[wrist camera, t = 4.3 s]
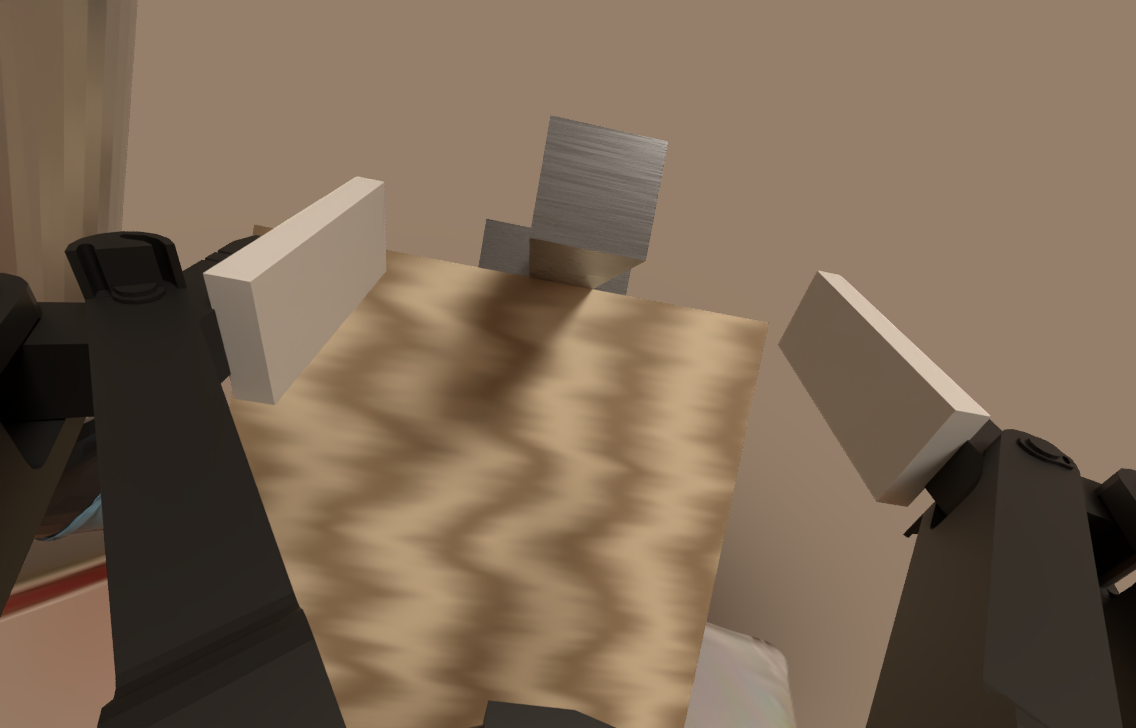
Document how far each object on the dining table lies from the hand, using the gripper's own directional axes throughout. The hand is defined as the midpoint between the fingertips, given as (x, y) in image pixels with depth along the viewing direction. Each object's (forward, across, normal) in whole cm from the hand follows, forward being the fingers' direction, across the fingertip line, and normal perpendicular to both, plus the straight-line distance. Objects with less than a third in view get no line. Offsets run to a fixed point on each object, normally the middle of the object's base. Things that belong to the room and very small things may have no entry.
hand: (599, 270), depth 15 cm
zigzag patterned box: (+3, -2, -36) cm, 36 cm away
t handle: (+12, -1, -6) cm, 14 cm away
